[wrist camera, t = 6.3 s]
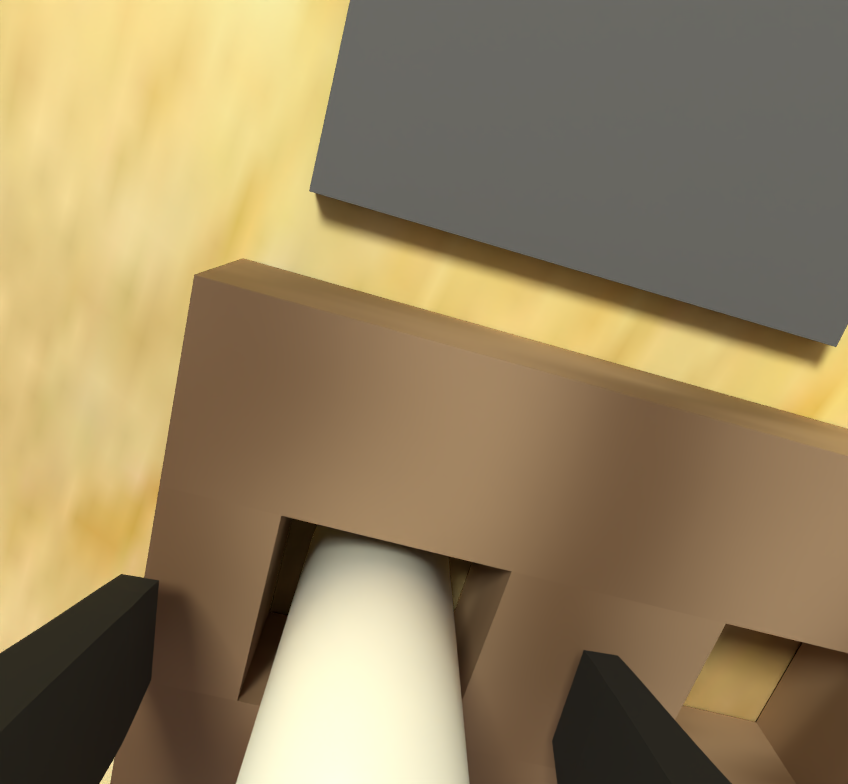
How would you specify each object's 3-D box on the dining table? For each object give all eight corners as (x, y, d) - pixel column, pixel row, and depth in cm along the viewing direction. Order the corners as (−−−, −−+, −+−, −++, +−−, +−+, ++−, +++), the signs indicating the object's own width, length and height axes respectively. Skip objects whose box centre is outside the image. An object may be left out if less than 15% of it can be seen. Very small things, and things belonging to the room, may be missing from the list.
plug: (462, 508, 13) (549, 1074, 4) (431, 623, 13) (454, 1275, 5) (322, 480, 12) (139, 1025, 4) (299, 600, 13) (112, 1242, 5)
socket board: (1000, 472, 12) (1159, 546, 10) (767, 837, 16) (838, 968, 13) (243, 258, 11) (187, 277, 8) (157, 710, 14) (97, 829, 12)
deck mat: (1062, -147, 9) (1098, -166, 9) (819, 340, 12) (835, 347, 11) (440, -394, 8) (442, -431, 8) (314, 191, 11) (308, 190, 10)
